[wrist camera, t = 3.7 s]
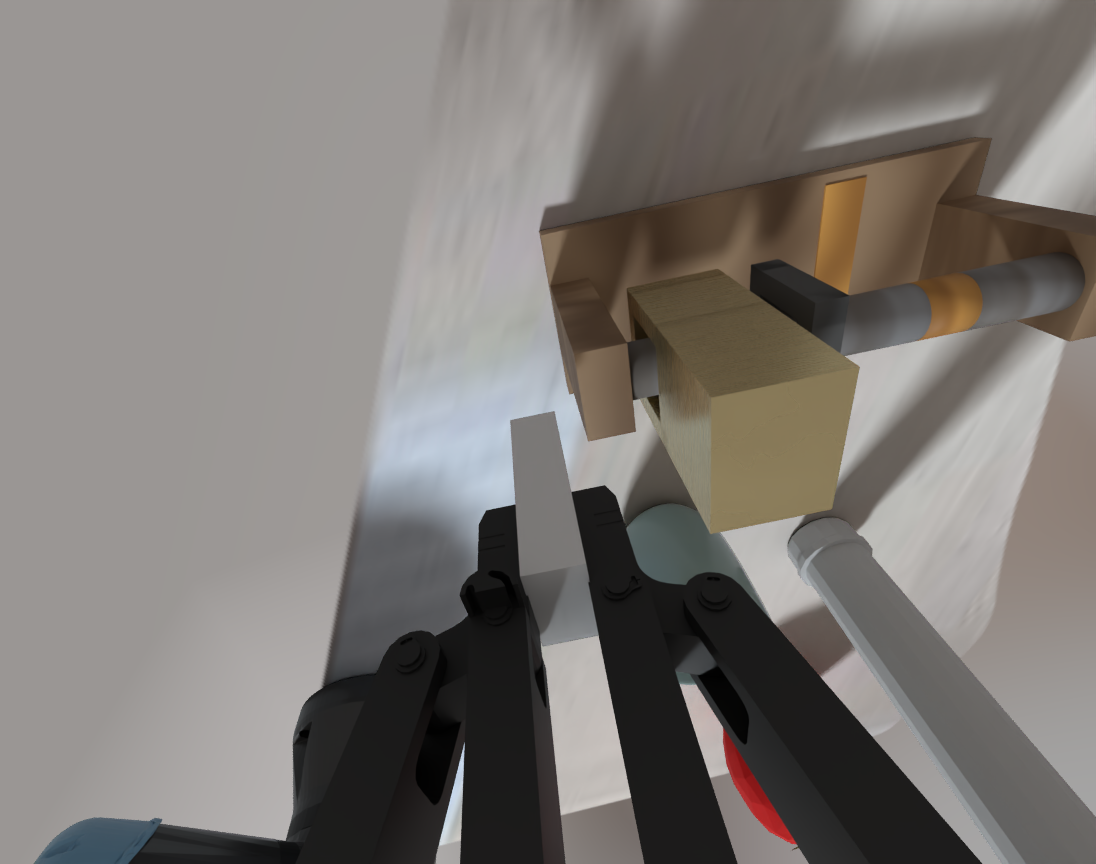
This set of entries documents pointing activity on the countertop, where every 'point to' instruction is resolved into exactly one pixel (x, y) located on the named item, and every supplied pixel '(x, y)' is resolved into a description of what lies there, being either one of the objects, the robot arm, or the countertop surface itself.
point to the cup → (683, 551)
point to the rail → (825, 263)
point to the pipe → (946, 706)
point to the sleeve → (743, 400)
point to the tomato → (753, 792)
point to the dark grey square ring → (802, 299)
